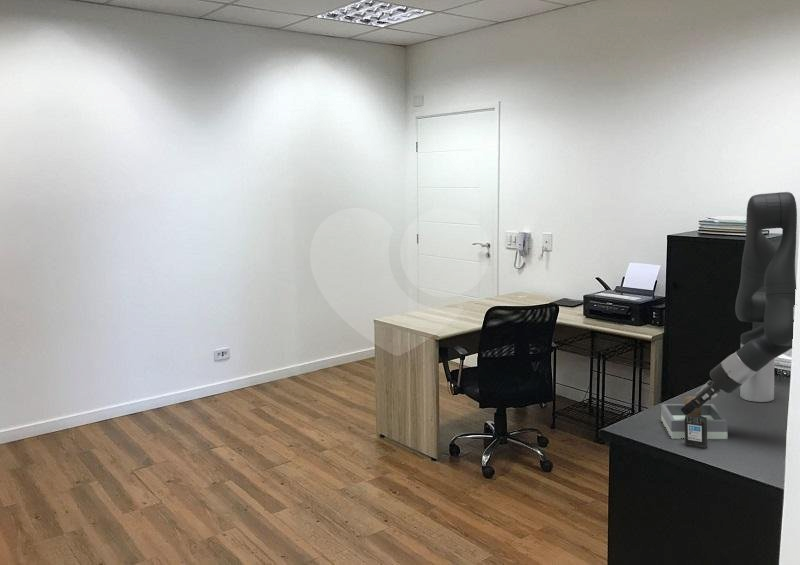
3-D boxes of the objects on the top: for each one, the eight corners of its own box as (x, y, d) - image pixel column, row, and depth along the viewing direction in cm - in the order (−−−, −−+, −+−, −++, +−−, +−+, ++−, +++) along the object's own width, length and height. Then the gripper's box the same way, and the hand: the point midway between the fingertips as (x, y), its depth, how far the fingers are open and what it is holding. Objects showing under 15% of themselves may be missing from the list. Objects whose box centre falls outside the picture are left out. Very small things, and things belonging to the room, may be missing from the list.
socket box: (661, 420, 194) (661, 404, 193) (713, 421, 191) (713, 404, 191) (671, 438, 181) (671, 420, 180) (727, 439, 178) (727, 421, 177)
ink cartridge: (684, 446, 175) (684, 416, 174) (687, 443, 177) (686, 413, 176) (705, 449, 172) (704, 419, 171) (707, 446, 174) (706, 416, 173)
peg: (683, 423, 188) (683, 396, 187) (699, 423, 187) (698, 396, 186) (687, 428, 184) (686, 400, 183) (702, 429, 184) (702, 400, 183)
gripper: (727, 355, 185) (681, 392, 193) (717, 367, 173) (668, 406, 182) (749, 375, 182) (701, 412, 191) (739, 390, 171) (689, 428, 180)
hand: (685, 409), depth 186 cm, fingers closed on peg, 3 cm apart
